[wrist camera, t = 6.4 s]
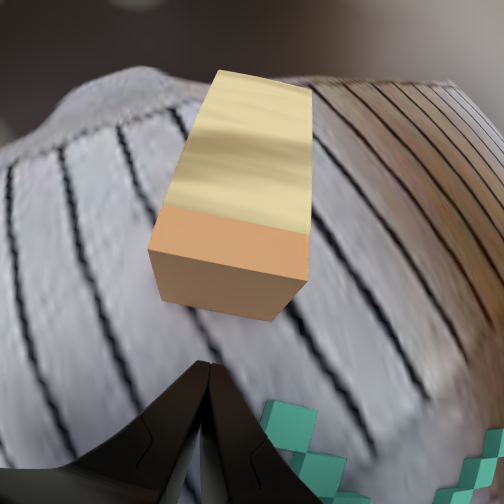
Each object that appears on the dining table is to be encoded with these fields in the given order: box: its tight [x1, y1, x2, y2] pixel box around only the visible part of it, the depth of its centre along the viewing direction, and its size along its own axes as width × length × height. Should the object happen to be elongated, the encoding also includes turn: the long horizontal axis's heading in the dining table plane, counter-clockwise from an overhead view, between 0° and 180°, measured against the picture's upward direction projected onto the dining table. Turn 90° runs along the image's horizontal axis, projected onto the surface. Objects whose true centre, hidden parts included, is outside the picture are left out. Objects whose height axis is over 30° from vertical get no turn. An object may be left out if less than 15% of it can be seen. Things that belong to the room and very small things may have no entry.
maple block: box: [148, 70, 312, 322], centre depth 17 cm, size 6×6×13 cm
